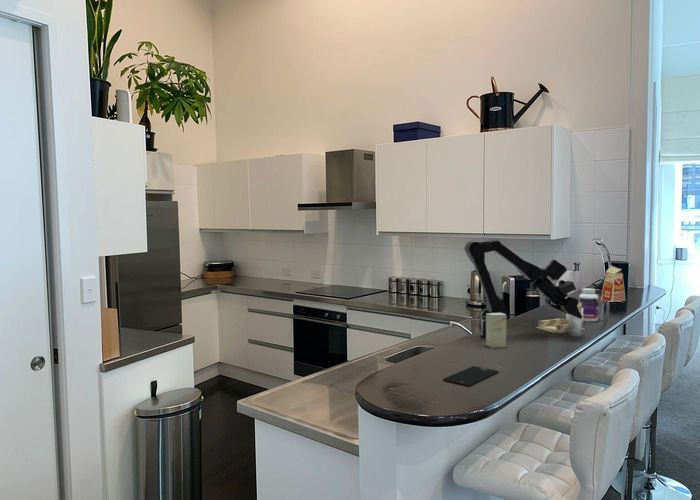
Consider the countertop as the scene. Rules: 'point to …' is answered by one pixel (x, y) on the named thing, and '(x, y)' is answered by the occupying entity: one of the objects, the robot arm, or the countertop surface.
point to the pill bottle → (589, 304)
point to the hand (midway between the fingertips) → (575, 315)
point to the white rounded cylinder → (581, 318)
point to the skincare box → (495, 330)
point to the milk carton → (613, 286)
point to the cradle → (555, 325)
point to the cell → (575, 323)
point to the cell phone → (470, 376)
